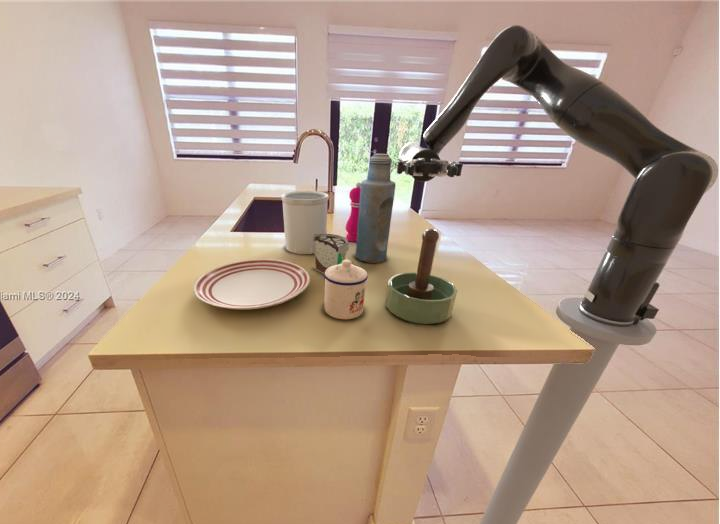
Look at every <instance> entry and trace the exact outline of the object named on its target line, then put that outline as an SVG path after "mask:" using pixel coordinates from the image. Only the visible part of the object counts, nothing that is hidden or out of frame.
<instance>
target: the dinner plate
mask: <svg viewBox="0 0 720 524" xmlns="http://www.w3.org/2000/svg"><path fill="white" fill-rule="evenodd" d="M310 282H311V277H310V274H309V272H308V271H307V270H306V269H305V268H304V267H302V266H300V265H298V264H296V263H294V262H290V261H287V260H281V259H273V258H272V259H271V258H255V259H254V258H253V259H246V260H239V261H233V262H231V263H226V264H222V265H220V266H217V267H215V268H212V269H210V270H208V271H206V272H205V273H203V274H202V275H200V277H199V278H198V279H196V281H195V283H194V285H193V294H194V295H195V297H196V298H197V299H198V300H200V301H201V302H203V303H205V304H207V305H210V306H214V307H216V308H221V309H222V308H223V309H229V310H259V309H264V308H269V307H273V306H278V305H280V304H284V303H286V302H288V301H290V300H293V299H294V298H296V297H298V296H299V295H300V294H301V293H303V292H304V291H305V290H306V289H307V288H308V286H309V284H310Z"/></svg>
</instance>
